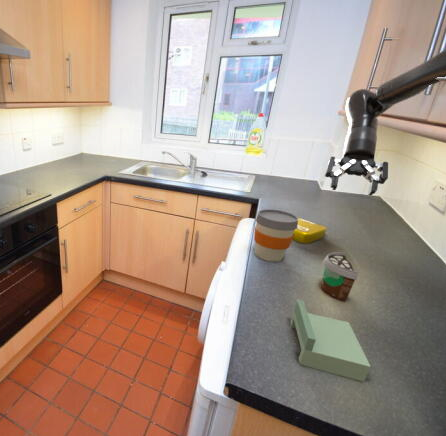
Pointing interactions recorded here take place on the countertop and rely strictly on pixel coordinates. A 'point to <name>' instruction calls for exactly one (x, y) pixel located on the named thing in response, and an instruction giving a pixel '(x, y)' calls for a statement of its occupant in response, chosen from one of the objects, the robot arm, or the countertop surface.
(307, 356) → the green stand base
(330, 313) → the countertop surface
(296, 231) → the yellow flat block
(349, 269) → the food container
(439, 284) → the countertop surface
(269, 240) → the reusable coffee cup
